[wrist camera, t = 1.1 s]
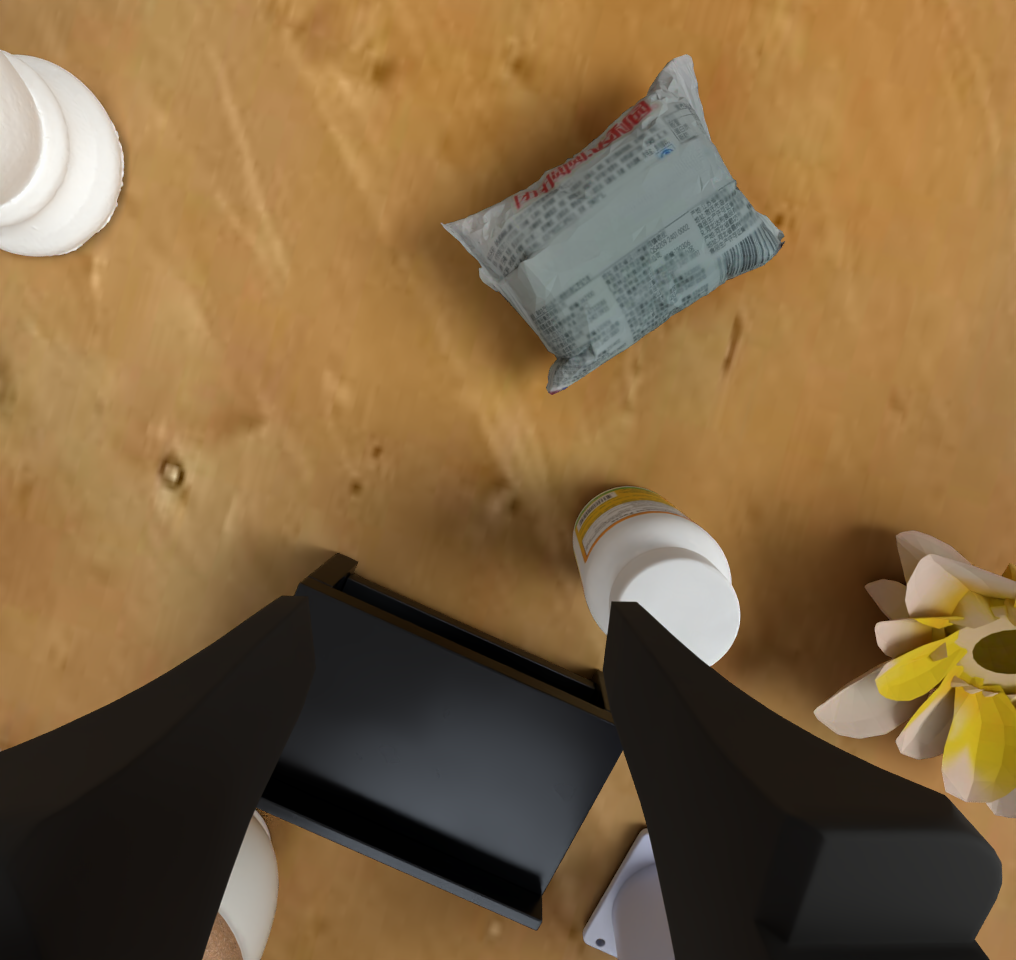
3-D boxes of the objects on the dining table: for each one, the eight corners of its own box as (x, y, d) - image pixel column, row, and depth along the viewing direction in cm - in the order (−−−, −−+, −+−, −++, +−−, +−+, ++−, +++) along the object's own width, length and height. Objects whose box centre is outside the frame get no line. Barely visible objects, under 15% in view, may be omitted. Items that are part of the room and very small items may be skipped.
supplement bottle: (673, 592, 26) (752, 705, 17) (567, 583, 27) (584, 689, 17) (687, 488, 25) (777, 544, 16) (576, 480, 26) (601, 529, 16)
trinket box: (119, 890, 31) (-58, 1100, 22) (143, 733, 29) (-38, 889, 20) (292, 938, 31) (188, 1168, 22) (327, 783, 29) (230, 963, 20)
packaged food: (451, 240, 24) (431, 202, 19) (675, 79, 23) (715, -5, 18) (551, 399, 25) (556, 402, 20) (772, 256, 24) (834, 222, 19)
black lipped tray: (617, 678, 27) (638, 751, 22) (536, 827, 29) (537, 931, 23) (337, 552, 27) (285, 592, 21) (272, 710, 29) (208, 787, 23)
